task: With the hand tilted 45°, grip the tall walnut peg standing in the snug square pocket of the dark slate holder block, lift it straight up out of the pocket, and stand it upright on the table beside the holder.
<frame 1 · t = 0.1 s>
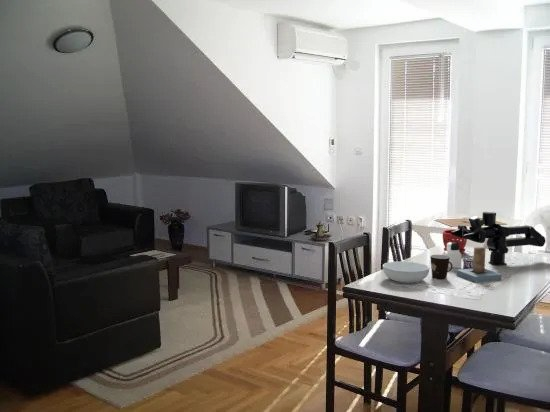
hand: (456, 234, 283), 17 cm above the table, tool horizontal, fingers open, 9 cm apart
walnut peg: (479, 262, 265), in the slate holder block
serving bowl: (405, 281, 260), on the table
coffee mug: (440, 278, 264), on the table
slate holder block: (478, 277, 266), on the table
plant pot: (454, 252, 321), on the table
medicine bottle: (452, 266, 288), on the table
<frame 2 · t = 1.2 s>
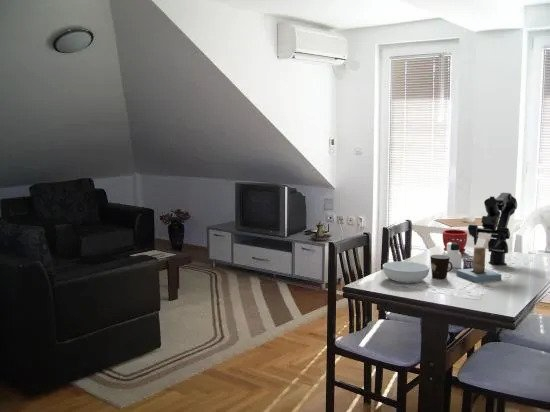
hand: (484, 245, 270), 14 cm above the table, tool tilted 45°, fingers open, 9 cm apart
nothing on the table moved.
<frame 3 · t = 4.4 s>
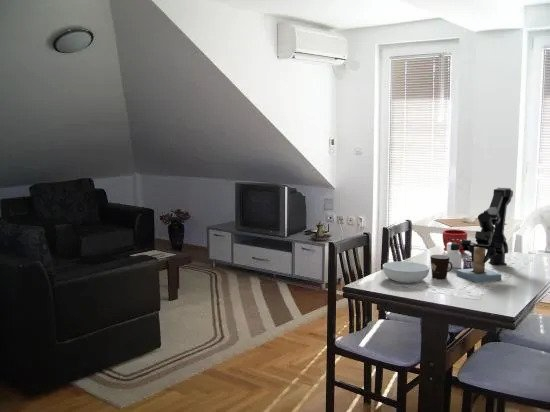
hand: (478, 261, 263), 8 cm above the table, tool tilted 45°, fingers closed on walnut peg, 5 cm apart
walnut peg: (479, 262, 265), in the slate holder block, touching gripper
everything else where it was.
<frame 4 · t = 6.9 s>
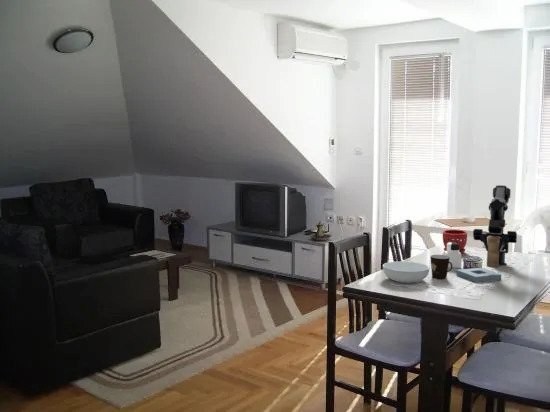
hand: (493, 250, 260), 13 cm above the table, tool tilted 45°, fingers closed on walnut peg, 5 cm apart
walnut peg: (493, 251, 261), point 13 cm above the table, touching gripper
everything else where it was.
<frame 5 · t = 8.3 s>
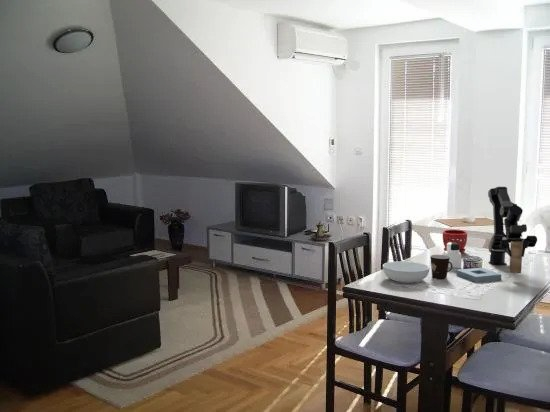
hand: (516, 256, 257), 11 cm above the table, tool tilted 45°, fingers closed on walnut peg, 5 cm apart
walnut peg: (516, 257, 259), point 11 cm above the table, touching gripper
everything else where it was.
when the fingers open (9 cm above the table, at t = 9.6 s): walnut peg drops 1 cm, on the table.
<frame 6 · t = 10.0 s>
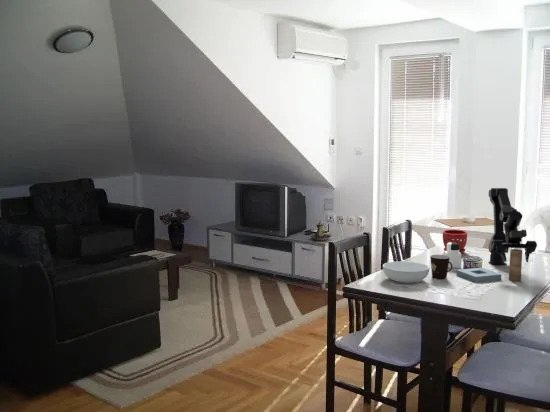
hand: (516, 261, 257), 9 cm above the table, tool tilted 45°, fingers open, 9 cm apart
walnut peg: (515, 265, 259), on the table
everything else where it was.
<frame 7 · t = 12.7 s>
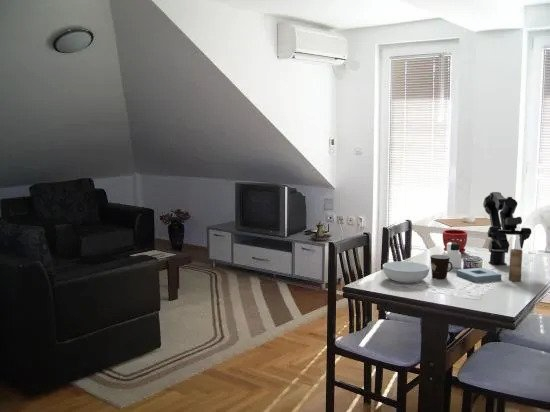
hand: (511, 247, 266), 14 cm above the table, tool tilted 45°, fingers open, 9 cm apart
nothing on the table moved.
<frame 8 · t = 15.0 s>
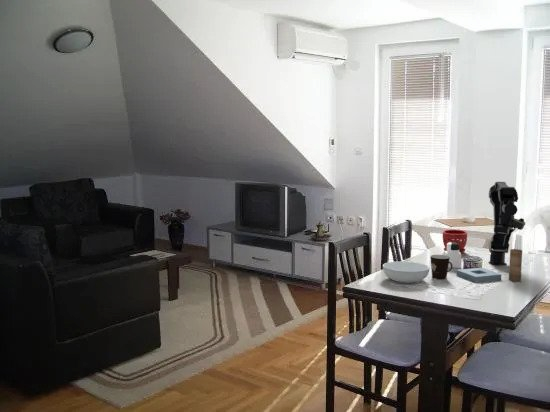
hand: (504, 244, 275), 13 cm above the table, tool pointing down, fingers open, 9 cm apart
nothing on the table moved.
at the end: walnut peg inside the target area (0.1 cm from its centre), on the table; walnut peg tilted 0°; the gripper is holding nothing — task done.
